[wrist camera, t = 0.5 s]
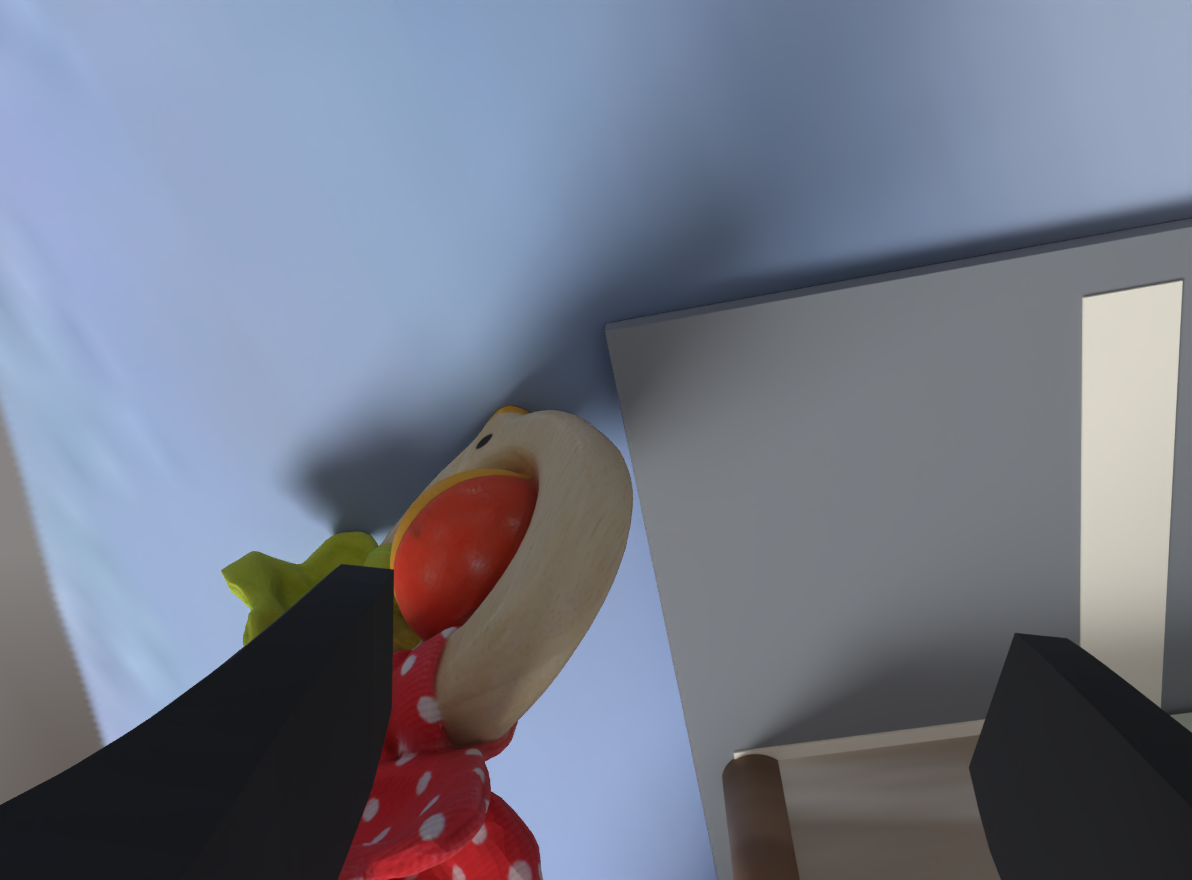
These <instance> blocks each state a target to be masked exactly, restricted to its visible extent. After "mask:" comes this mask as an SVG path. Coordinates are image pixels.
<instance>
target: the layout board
mask: <svg viewBox="0 0 1192 880" xmlns="http://www.w3.org/2000/svg"><path fill="white" fill-rule="evenodd" d="M605 335H606V340H607V345H608V350H609V355H610V360H611V364H612V369H613V374H614V379H615V384H616V389H617V393H618V398H619V403H620V408H621V413H622V418H623V422H624V427H625V432H626V437H627V442H628V447H629V452H630V456H631V461H632V466H633V471H634V476H635V481H636V485H637V490H638V495H639V500H640V505H641V510H642V514H643V519H644V524H645V529H646V534H647V539H648V543H649V548H650V553H651V558H652V563H653V568H654V573H655V577H656V582H657V587H658V592H659V597H660V602H661V606H662V611H663V616H664V621H665V626H666V631H667V635H668V640H669V645H670V650H671V655H672V660H673V665H674V669H675V674H676V679H677V684H678V689H679V694H680V698H681V703H682V708H683V713H684V718H685V723H686V727H687V732H688V737H689V742H690V747H691V752H692V756H693V761H694V766H695V771H696V776H697V781H698V786H699V790H700V795H701V800H702V805H703V810H704V815H705V819H706V824H707V829H708V834H709V839H710V844H711V848H712V853H713V858H714V863H715V868H716V873H717V877H718V880H733V873H732V864H731V855H730V846H729V837H728V828H727V819H726V810H725V801H724V791H723V782H722V774H723V771H724V768H725V767H726V765H727V764H728V763H729V762H730V761H731V760H733V759H734V758H735V759H737V758H739V757H742V756H745V755H750V754H763V755H767V756H770V757H773V758H775V759H777V760H785V759H793V758H801V757H809V756H817V755H825V754H833V753H840V752H848V751H856V750H864V749H872V748H880V747H888V746H896V745H904V744H911V743H919V742H927V741H935V740H943V739H951V738H959V737H967V736H974V735H980V733H981V730H982V727H983V724H984V721H985V718H986V715H987V712H988V710H989V707H990V704H991V701H992V698H993V695H994V692H995V689H996V686H997V683H998V680H999V677H1000V674H1001V672H1002V669H1003V666H1004V663H1005V660H1006V657H1007V654H1008V651H1009V648H1010V645H1011V642H1012V639H1013V636H1014V634H1015V633H1022V634H1031V635H1041V636H1051V637H1061V638H1068V639H1069V640H1071V641H1072V642H1074V643H1075V644H1077V645H1078V646H1080V647H1081V648H1083V649H1084V650H1086V651H1087V652H1088V653H1090V654H1091V655H1093V656H1094V657H1095V658H1097V659H1098V660H1099V661H1101V662H1102V663H1103V664H1105V665H1106V666H1107V667H1109V668H1110V669H1111V670H1113V671H1114V672H1115V673H1116V674H1118V675H1119V676H1120V677H1122V678H1123V679H1124V680H1126V681H1127V682H1128V683H1129V684H1131V685H1132V686H1133V687H1134V688H1136V689H1137V690H1138V691H1140V692H1141V693H1142V694H1143V695H1145V696H1146V697H1147V698H1148V699H1150V700H1151V701H1152V702H1154V703H1155V704H1156V705H1157V706H1159V707H1160V708H1161V709H1162V710H1164V711H1165V712H1166V713H1168V714H1169V715H1175V714H1183V713H1191V712H1192V218H1190V219H1184V220H1179V221H1173V222H1167V223H1162V224H1156V225H1151V226H1145V227H1140V228H1134V229H1128V230H1123V231H1117V232H1112V233H1106V234H1101V235H1095V236H1090V237H1084V238H1078V239H1073V240H1067V241H1062V242H1056V243H1051V244H1045V245H1040V246H1034V247H1028V248H1023V249H1017V250H1012V251H1006V252H1001V253H995V254H990V255H984V256H978V257H973V258H967V259H962V260H956V261H951V262H945V263H939V264H934V265H928V266H923V267H917V268H912V269H906V270H901V271H895V272H889V273H884V274H878V275H873V276H867V277H862V278H856V279H851V280H845V281H839V282H834V283H828V284H823V285H817V286H812V287H806V288H800V289H795V290H789V291H784V292H778V293H773V294H767V295H762V296H756V297H750V298H745V299H739V300H734V301H728V302H723V303H717V304H712V305H706V306H700V307H695V308H689V309H684V310H678V311H673V312H667V313H661V314H656V315H650V316H645V317H639V318H634V319H628V320H623V321H617V322H611V323H606V324H605Z"/></svg>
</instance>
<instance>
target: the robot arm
mask: <svg viewBox="0 0 1192 880" xmlns="http://www.w3.org/2000/svg"><path fill="white" fill-rule="evenodd" d="M393 609H394V569H386V568H376V567H366V566H356V565H347V564H341V565H339V566H338V567H337V568H335V569H334V570H333V571H332V572H330V573H329V574H328V575H327V576H326V577H325V578H323V579H322V580H321V581H320V582H319V583H318V584H316V585H315V586H314V587H313V588H312V589H311V590H310V591H309V592H307V593H306V594H305V595H304V596H303V597H302V598H301V599H300V600H298V601H297V602H296V603H295V604H294V605H293V606H292V607H290V608H289V609H288V610H287V611H286V612H285V613H284V614H282V615H281V616H280V617H279V618H278V619H277V620H275V621H274V622H273V623H272V624H271V625H270V626H268V627H267V628H266V629H265V630H264V631H263V632H261V633H260V634H259V635H258V636H256V637H255V638H254V639H253V640H252V641H250V642H249V643H248V644H247V645H245V646H244V647H243V648H242V649H241V650H239V651H238V652H237V653H236V654H234V655H233V656H232V657H231V658H230V659H228V660H227V661H226V662H225V663H223V664H222V665H221V666H220V667H218V668H217V669H216V670H215V671H213V672H212V673H211V674H209V675H208V676H207V677H205V678H204V679H203V680H201V681H200V682H198V683H197V684H196V685H194V686H193V687H192V688H190V689H189V690H188V691H186V692H185V693H184V694H182V695H181V696H179V697H178V698H177V699H175V700H174V701H173V702H171V703H170V704H169V705H167V706H166V707H165V708H163V709H162V710H161V711H159V712H158V713H156V714H155V715H153V716H152V717H151V718H149V719H148V720H146V721H145V722H143V723H142V724H140V725H139V726H137V727H136V728H134V729H133V730H131V731H130V732H128V733H126V734H125V735H123V736H122V737H120V738H119V739H117V740H115V741H114V742H112V743H110V744H109V745H107V746H105V747H104V748H102V749H101V750H99V751H97V752H96V753H94V754H92V755H91V756H89V757H87V758H86V759H84V760H82V761H81V762H79V763H78V764H76V765H74V766H72V767H71V768H69V769H67V770H65V771H64V772H62V773H60V774H58V775H57V776H55V777H53V778H51V779H49V780H47V781H45V782H43V783H41V784H39V785H37V786H36V787H34V788H32V789H30V790H28V791H26V792H24V793H22V794H20V795H18V796H17V797H15V798H13V799H11V800H9V801H7V802H5V803H3V804H1V805H0V880H338V878H339V875H340V873H341V870H342V868H343V865H344V862H345V860H346V857H347V855H348V852H349V849H350V847H351V844H352V841H353V839H354V836H355V834H356V831H357V828H358V826H359V823H360V820H361V818H362V815H363V812H364V810H365V807H366V804H367V802H368V799H369V796H370V793H371V791H372V788H373V784H374V780H375V776H376V772H377V768H378V765H379V761H380V757H381V753H382V749H383V745H384V741H385V736H386V732H387V728H388V724H389V720H390V716H391V712H392V674H393ZM969 771H970V775H971V780H972V784H973V788H974V792H975V797H976V801H977V805H978V809H979V814H980V817H981V821H982V825H983V828H984V832H985V836H986V839H987V843H988V847H989V850H990V853H991V855H992V858H993V861H994V863H995V866H996V868H997V871H998V874H999V876H1000V879H1001V880H1192V732H1190V731H1189V730H1188V729H1187V728H1185V727H1184V726H1183V725H1182V724H1180V723H1179V722H1178V721H1176V720H1175V719H1174V718H1173V717H1171V716H1170V715H1169V714H1168V713H1166V712H1165V711H1164V710H1162V709H1161V708H1160V707H1159V706H1157V705H1156V704H1155V703H1154V702H1152V701H1151V700H1150V699H1148V698H1147V697H1146V696H1145V695H1143V694H1142V693H1141V692H1140V691H1138V690H1137V689H1136V688H1134V687H1133V686H1132V685H1131V684H1129V683H1128V682H1127V681H1126V680H1124V679H1123V678H1122V677H1120V676H1119V675H1118V674H1116V673H1115V672H1114V671H1113V670H1111V669H1110V668H1109V667H1107V666H1106V665H1105V664H1103V663H1102V662H1101V661H1099V660H1098V659H1097V658H1095V657H1094V656H1093V655H1091V654H1090V653H1088V652H1087V651H1086V650H1084V649H1083V648H1081V647H1080V646H1078V645H1077V644H1075V643H1074V642H1072V641H1071V640H1069V639H1068V638H1061V637H1051V636H1041V635H1031V634H1022V633H1015V634H1014V636H1013V639H1012V642H1011V645H1010V648H1009V651H1008V654H1007V657H1006V660H1005V663H1004V666H1003V669H1002V672H1001V674H1000V677H999V680H998V683H997V686H996V689H995V692H994V695H993V698H992V701H991V704H990V707H989V710H988V712H987V715H986V718H985V721H984V724H983V727H982V730H981V733H980V736H979V739H978V742H977V745H976V748H975V750H974V753H973V756H972V759H971V762H970V765H969Z"/></svg>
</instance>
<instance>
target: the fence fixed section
mask: <svg viewBox="0 0 1192 880" xmlns="http://www.w3.org/2000/svg"><path fill="white" fill-rule="evenodd" d="M979 736H980V735H974V736H967V737H959V738H951V739H943V740H935V741H927V742H919V743H911V744H904V745H896V746H888V747H880V748H872V749H864V750H856V751H848V752H840V753H833V754H825V755H817V756H809V757H801V758H793V759H785V760H777V759H775V758H773V757H770V756H767V755H763V754H750V755H745V756H742V757H739V758H737V759H735V758H734V759H733V760H731V761H730V762H729V763H728V764H727V765H726V767H725V768H724V771H723V774H722V782H723V791H724V801H725V810H726V819H727V828H728V837H729V846H730V855H731V864H732V873H733V880H1001V879H1000V876H999V874H998V871H997V868H996V866H995V863H994V861H993V858H992V855H991V853H990V850H989V847H988V843H987V839H986V836H985V832H984V828H983V825H982V821H981V817H980V814H979V809H978V805H977V801H976V797H975V792H974V788H973V784H972V780H971V775H970V771H969V765H970V762H971V759H972V756H973V753H974V750H975V748H976V745H977V742H978V739H979Z"/></svg>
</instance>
